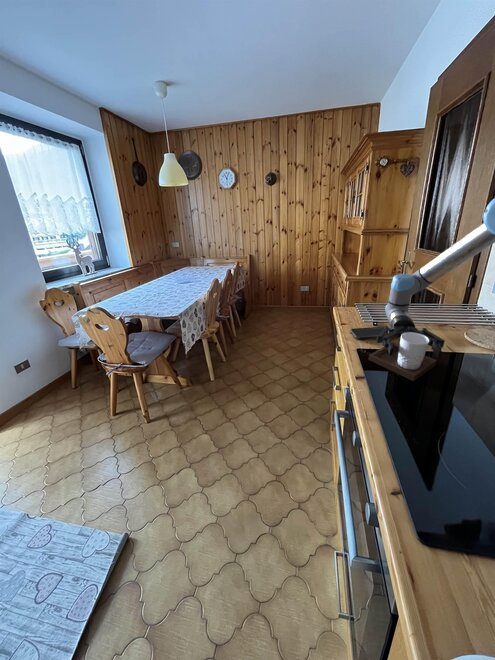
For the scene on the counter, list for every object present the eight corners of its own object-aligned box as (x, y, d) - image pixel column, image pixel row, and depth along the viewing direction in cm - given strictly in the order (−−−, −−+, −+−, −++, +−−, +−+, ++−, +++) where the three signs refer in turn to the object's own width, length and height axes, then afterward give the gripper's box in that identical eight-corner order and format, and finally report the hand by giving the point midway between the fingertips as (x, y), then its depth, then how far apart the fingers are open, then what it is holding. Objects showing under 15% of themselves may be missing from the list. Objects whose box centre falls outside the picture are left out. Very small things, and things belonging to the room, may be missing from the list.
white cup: (406, 355, 99) (412, 330, 94) (427, 366, 92) (435, 340, 88) (390, 361, 96) (395, 336, 91) (410, 373, 89) (417, 346, 85)
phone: (350, 328, 117) (385, 326, 117) (349, 331, 118) (385, 328, 118) (357, 337, 110) (395, 335, 110) (356, 340, 111) (394, 337, 111)
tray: (435, 365, 94) (436, 360, 93) (413, 381, 87) (414, 375, 86) (390, 347, 105) (391, 342, 104) (368, 359, 99) (369, 354, 98)
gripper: (436, 335, 105) (457, 367, 87) (364, 330, 111) (370, 359, 93) (441, 316, 101) (464, 346, 83) (367, 313, 108) (373, 339, 90)
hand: (415, 353), depth 88 cm, fingers open, 13 cm apart
